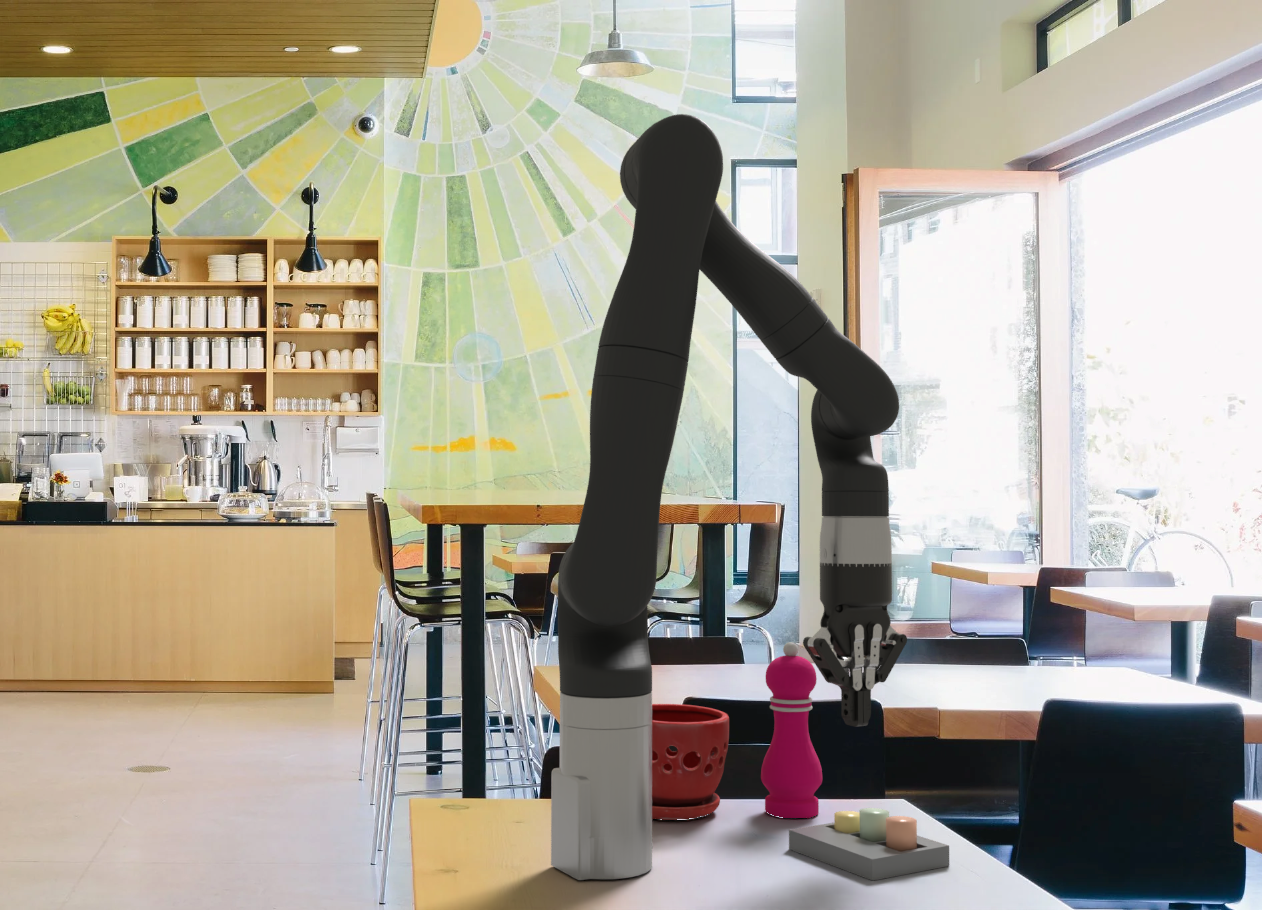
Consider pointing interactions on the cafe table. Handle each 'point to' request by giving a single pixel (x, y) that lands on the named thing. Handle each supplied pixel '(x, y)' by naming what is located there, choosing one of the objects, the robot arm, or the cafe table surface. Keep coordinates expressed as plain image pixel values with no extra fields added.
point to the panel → (866, 852)
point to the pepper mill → (791, 739)
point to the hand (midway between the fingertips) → (856, 724)
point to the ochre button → (847, 821)
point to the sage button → (873, 824)
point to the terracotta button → (901, 833)
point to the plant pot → (687, 760)
